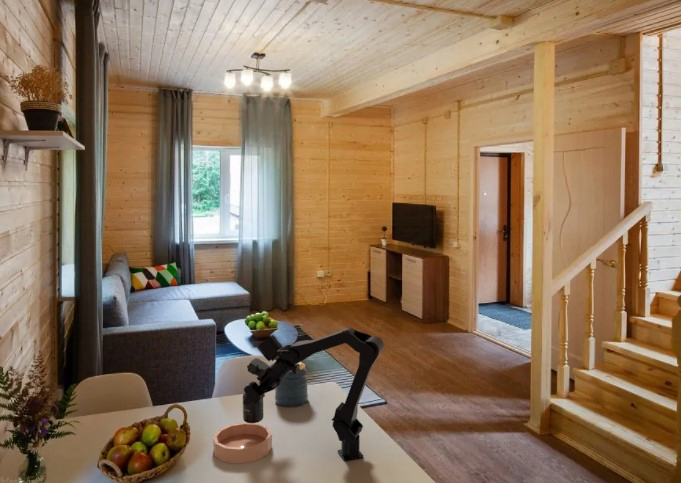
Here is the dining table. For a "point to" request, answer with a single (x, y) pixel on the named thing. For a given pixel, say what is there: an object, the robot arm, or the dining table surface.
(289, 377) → the canister
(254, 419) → the supplement bottle
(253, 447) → the terracotta bowl
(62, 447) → the dining table surface
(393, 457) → the dining table surface
